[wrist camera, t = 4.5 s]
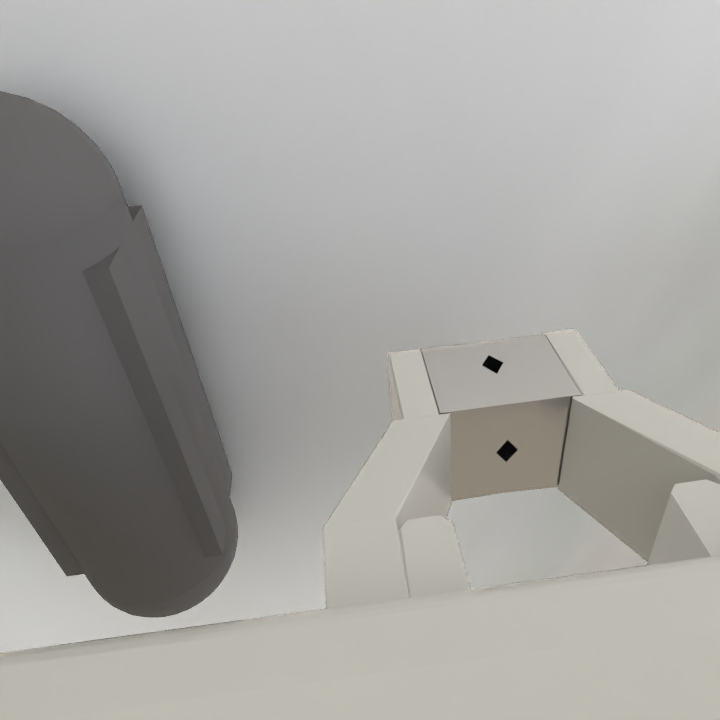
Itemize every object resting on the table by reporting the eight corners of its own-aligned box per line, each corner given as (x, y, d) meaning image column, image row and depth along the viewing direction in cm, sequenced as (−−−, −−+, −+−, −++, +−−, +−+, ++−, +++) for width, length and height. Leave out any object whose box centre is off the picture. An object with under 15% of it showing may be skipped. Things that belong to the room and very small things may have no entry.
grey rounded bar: (-110, 81, 8) (-277, 150, 6) (106, 53, 8) (29, 111, 6) (130, 532, 14) (96, 656, 12) (255, 515, 14) (247, 636, 12)
